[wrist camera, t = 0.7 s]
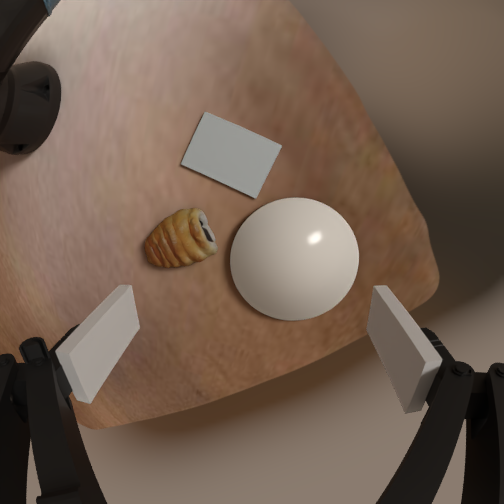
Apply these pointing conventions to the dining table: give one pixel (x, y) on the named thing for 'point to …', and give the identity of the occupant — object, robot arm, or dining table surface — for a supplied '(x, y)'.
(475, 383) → the robot arm
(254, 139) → the napkin
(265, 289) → the plate
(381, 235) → the dining table surface
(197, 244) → the pastry
